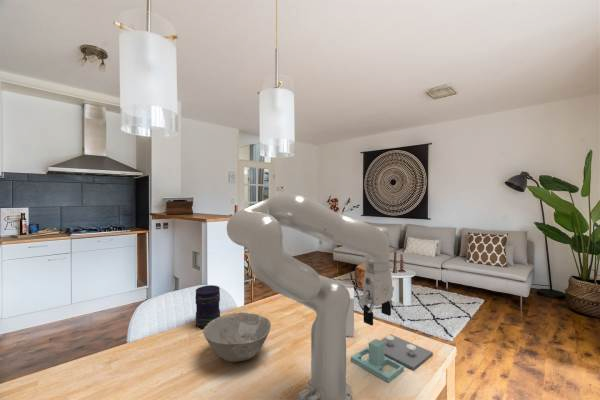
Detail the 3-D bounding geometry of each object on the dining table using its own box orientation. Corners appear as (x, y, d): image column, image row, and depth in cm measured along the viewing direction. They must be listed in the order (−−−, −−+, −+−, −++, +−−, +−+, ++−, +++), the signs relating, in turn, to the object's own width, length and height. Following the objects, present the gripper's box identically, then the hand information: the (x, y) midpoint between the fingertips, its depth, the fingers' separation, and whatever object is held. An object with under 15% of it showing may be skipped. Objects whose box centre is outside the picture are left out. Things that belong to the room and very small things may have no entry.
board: (413, 370, 86) (413, 358, 86) (370, 348, 98) (370, 338, 98) (432, 355, 94) (432, 344, 94) (390, 336, 106) (390, 327, 106)
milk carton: (353, 337, 106) (353, 288, 106) (335, 335, 108) (335, 286, 107) (353, 328, 113) (353, 282, 113) (336, 326, 115) (336, 281, 114)
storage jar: (224, 319, 122) (223, 285, 121) (213, 330, 112) (213, 293, 112) (202, 318, 123) (202, 284, 123) (190, 328, 113) (190, 292, 113)
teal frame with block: (388, 382, 80) (388, 357, 80) (350, 360, 91) (350, 338, 91) (403, 370, 86) (404, 347, 86) (366, 351, 97) (366, 330, 97)
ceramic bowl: (246, 385, 80) (246, 350, 80) (188, 364, 89) (187, 334, 89) (283, 346, 100) (283, 319, 100) (232, 333, 109) (231, 308, 109)
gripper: (370, 274, 80) (371, 332, 80) (402, 263, 91) (402, 314, 91) (350, 268, 85) (350, 323, 86) (382, 259, 96) (382, 307, 97)
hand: (377, 318), depth 89 cm, fingers open, 9 cm apart
